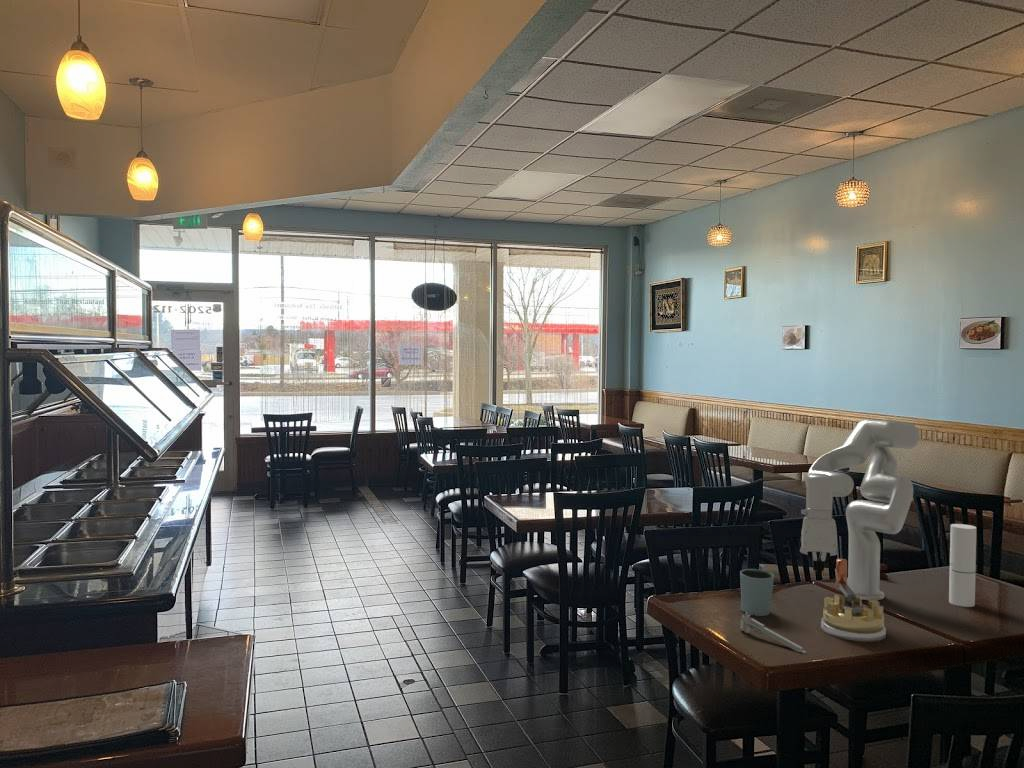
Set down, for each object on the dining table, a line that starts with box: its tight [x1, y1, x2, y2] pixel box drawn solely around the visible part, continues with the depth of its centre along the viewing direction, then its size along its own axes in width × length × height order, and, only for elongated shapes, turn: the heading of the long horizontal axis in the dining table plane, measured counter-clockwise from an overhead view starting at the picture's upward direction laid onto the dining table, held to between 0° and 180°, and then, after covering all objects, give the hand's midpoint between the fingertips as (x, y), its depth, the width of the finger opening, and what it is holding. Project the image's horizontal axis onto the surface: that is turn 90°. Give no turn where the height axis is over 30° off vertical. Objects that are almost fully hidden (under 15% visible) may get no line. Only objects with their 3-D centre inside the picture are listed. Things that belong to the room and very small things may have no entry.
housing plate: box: [820, 617, 887, 643], centre depth 216 cm, size 17×17×2 cm
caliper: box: [740, 612, 808, 655], centre depth 207 cm, size 20×1×6 cm, turn 36°
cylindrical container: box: [948, 523, 977, 608], centre depth 241 cm, size 7×7×25 cm
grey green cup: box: [739, 568, 775, 617], centre depth 232 cm, size 10×10×12 cm
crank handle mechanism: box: [822, 558, 885, 633], centre depth 219 cm, size 21×21×14 cm
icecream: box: [880, 562, 889, 580], centre depth 274 cm, size 7×7×15 cm
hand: (818, 572), depth 233 cm, fingers closed
